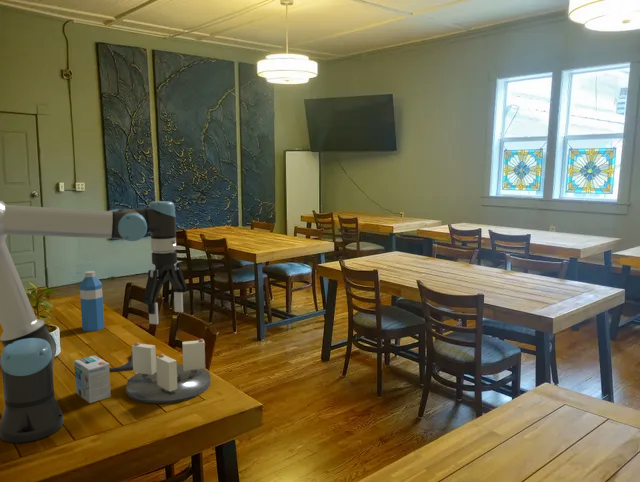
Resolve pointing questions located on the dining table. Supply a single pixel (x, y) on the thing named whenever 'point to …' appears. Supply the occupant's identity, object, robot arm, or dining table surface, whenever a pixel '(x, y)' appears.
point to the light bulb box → (92, 378)
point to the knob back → (144, 359)
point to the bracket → (124, 366)
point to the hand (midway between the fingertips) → (166, 317)
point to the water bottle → (91, 303)
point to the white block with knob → (166, 373)
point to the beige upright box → (193, 355)
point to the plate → (186, 389)
